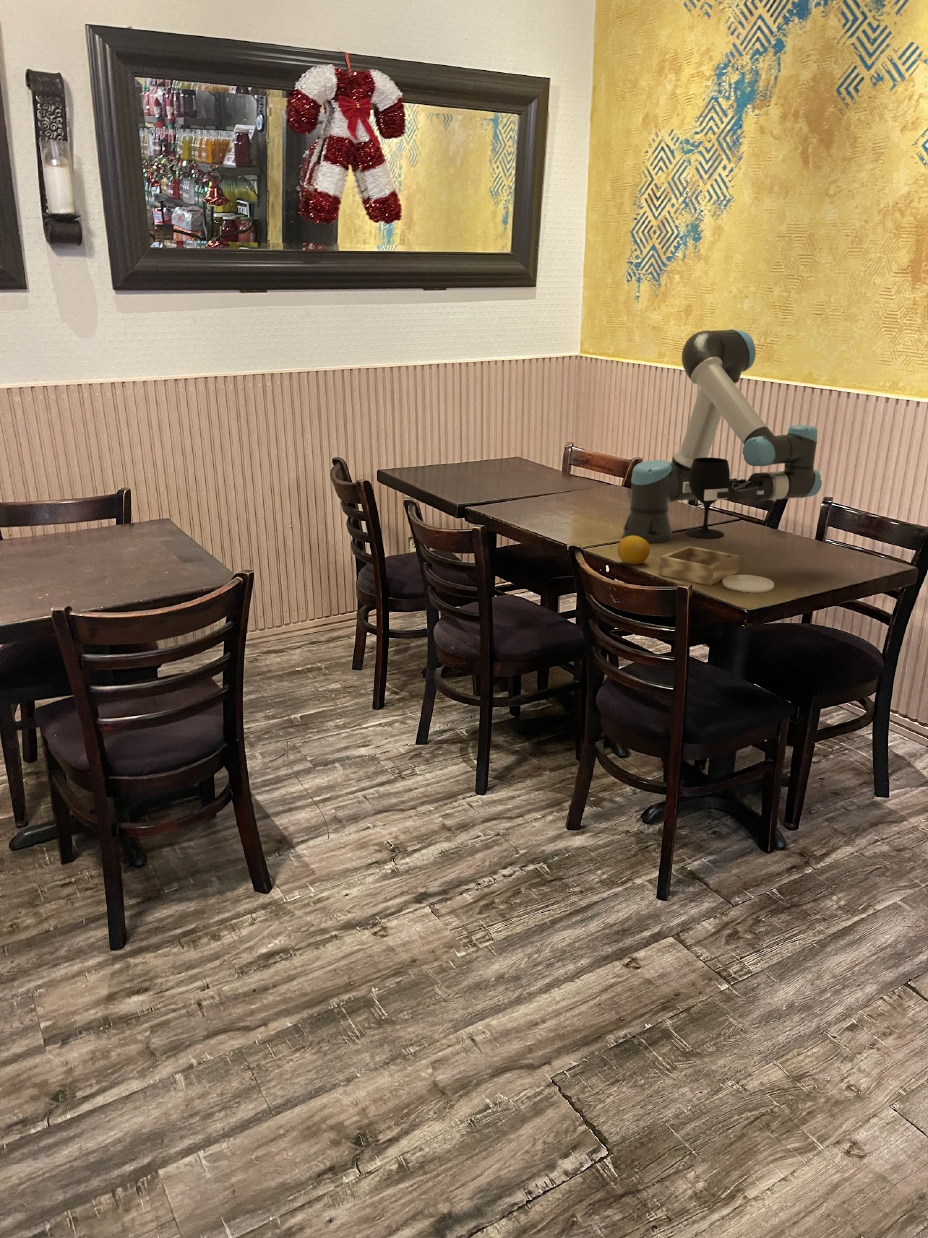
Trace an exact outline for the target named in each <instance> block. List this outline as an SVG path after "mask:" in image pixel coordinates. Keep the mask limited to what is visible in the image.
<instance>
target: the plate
mask: <svg viewBox="0 0 928 1238" xmlns="http://www.w3.org/2000/svg"><path fill="white" fill-rule="evenodd" d="M721 581H722V582H721V583H722V586H723V585H724V586H725V587H724V586H723V587H724V588H726V587H727V588H726V589H728V590H731V589H732V590H731V591H735V590H738V591H737V592H739V591H741V593H747V592H749V594H750V593H751V594H759V593H767V592H771V591H772V590H773V589H774V588H775V587H774V586H775V583H774V581H773V580H772V579H770V578H767V577H763V576H758V575H753V574H735V575H731V576H727V577H725V578H723V580H721Z"/></svg>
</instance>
